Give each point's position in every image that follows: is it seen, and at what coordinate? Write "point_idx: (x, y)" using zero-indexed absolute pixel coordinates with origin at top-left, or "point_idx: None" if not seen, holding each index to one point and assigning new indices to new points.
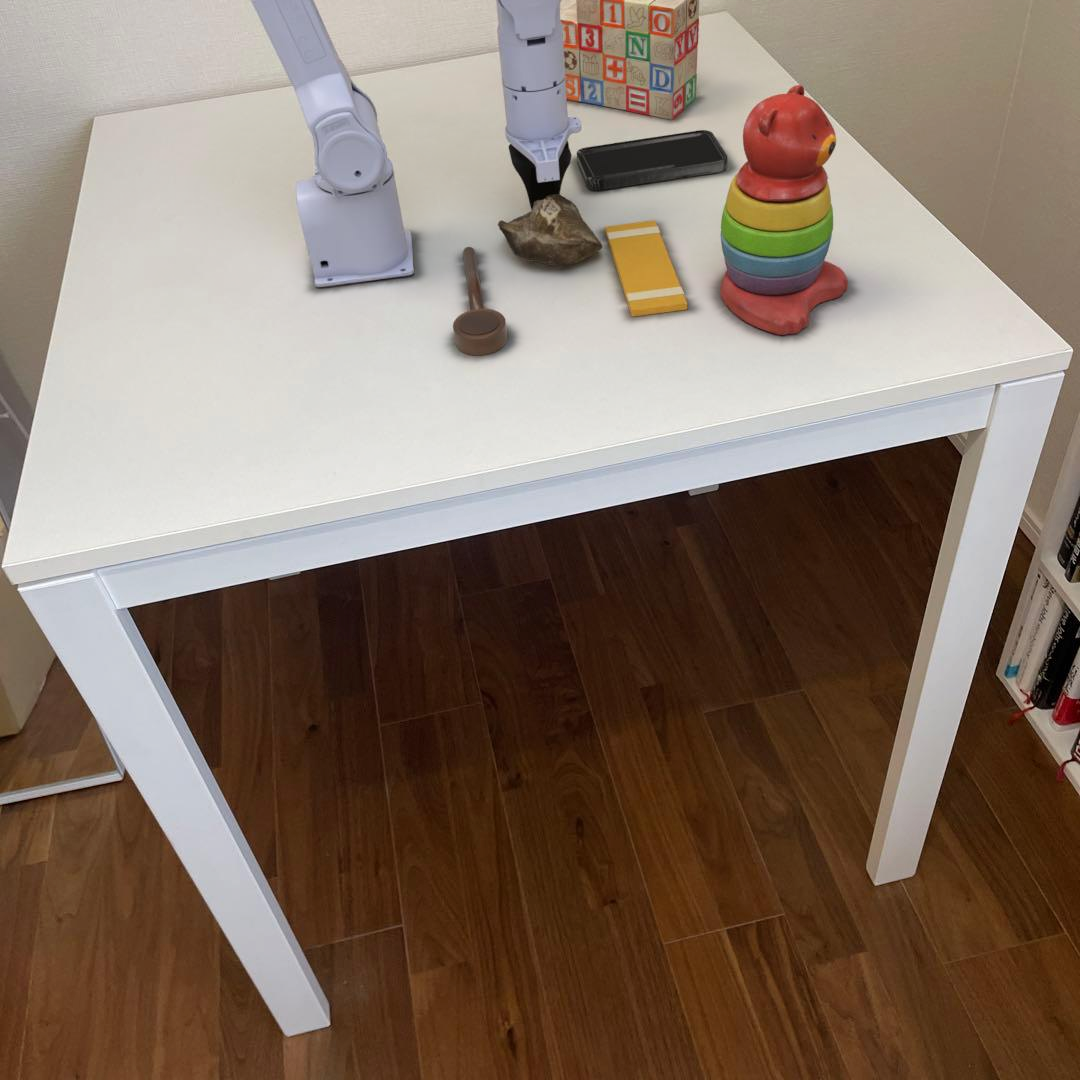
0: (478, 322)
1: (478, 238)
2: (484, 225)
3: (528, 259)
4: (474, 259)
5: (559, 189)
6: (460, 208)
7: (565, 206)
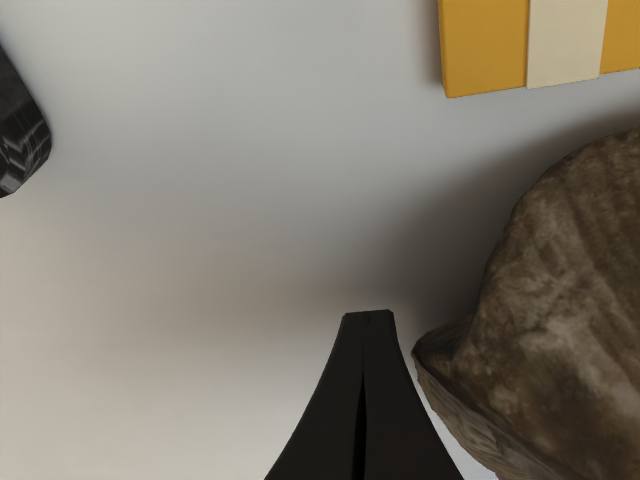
0: None
1: None
2: None
3: None
4: None
5: (427, 417)
6: (232, 463)
7: (632, 399)
